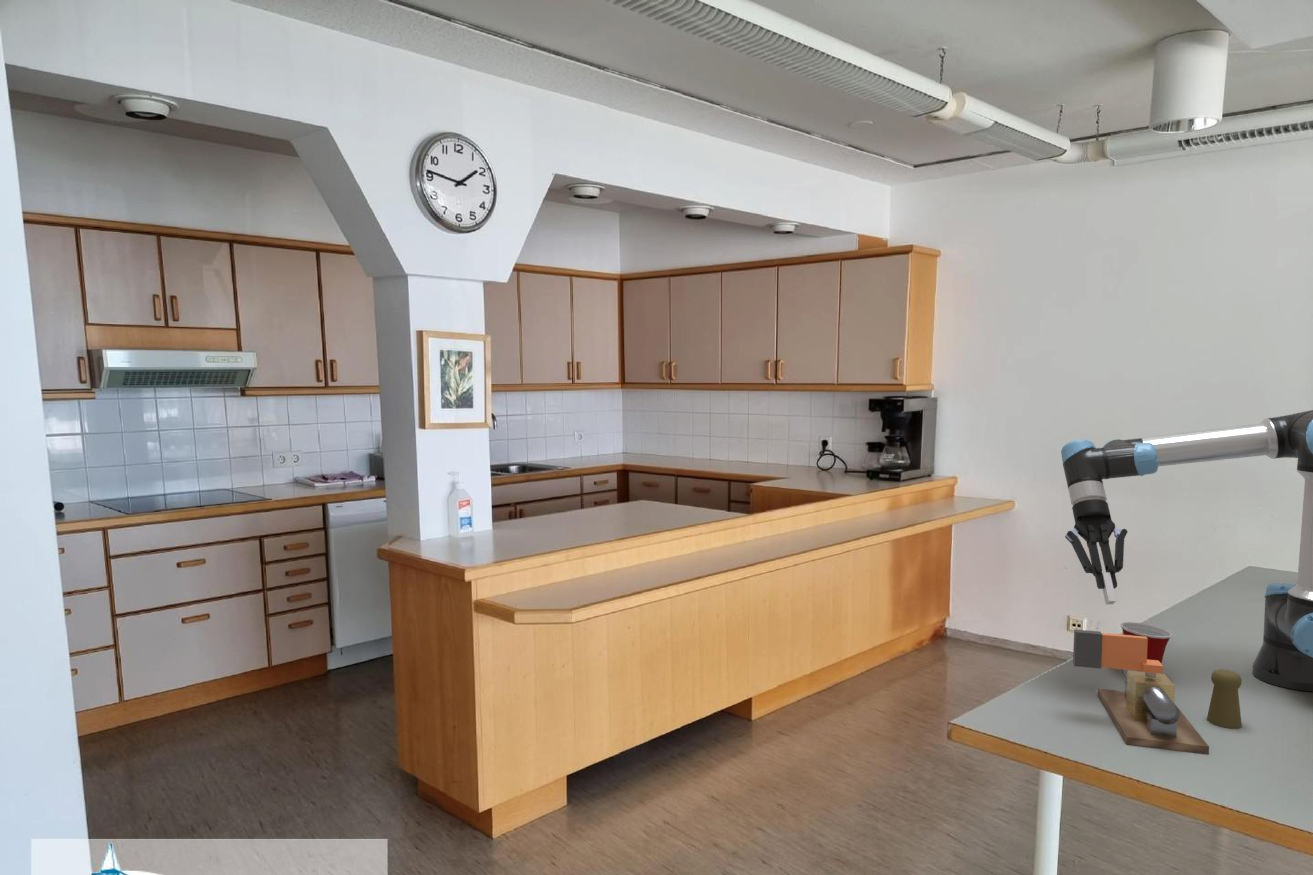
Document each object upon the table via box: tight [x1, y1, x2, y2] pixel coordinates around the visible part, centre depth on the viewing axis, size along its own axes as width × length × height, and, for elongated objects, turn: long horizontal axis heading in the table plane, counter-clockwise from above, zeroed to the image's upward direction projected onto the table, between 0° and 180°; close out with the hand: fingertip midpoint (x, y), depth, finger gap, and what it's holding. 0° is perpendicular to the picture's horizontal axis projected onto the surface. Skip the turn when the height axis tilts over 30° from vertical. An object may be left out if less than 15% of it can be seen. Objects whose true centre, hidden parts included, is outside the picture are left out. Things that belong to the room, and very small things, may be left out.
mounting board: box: [1097, 688, 1210, 755], centre depth 170 cm, size 14×26×2 cm, turn 162°
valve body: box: [1123, 669, 1180, 738], centre depth 170 cm, size 7×24×8 cm, turn 162°
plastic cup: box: [1120, 621, 1173, 664], centre depth 196 cm, size 11×11×12 cm
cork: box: [1206, 668, 1243, 730], centre depth 169 cm, size 6×6×11 cm
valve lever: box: [1072, 629, 1165, 678], centre depth 171 cm, size 16×4×8 cm, turn 72°
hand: (1111, 602), depth 179 cm, fingers closed
